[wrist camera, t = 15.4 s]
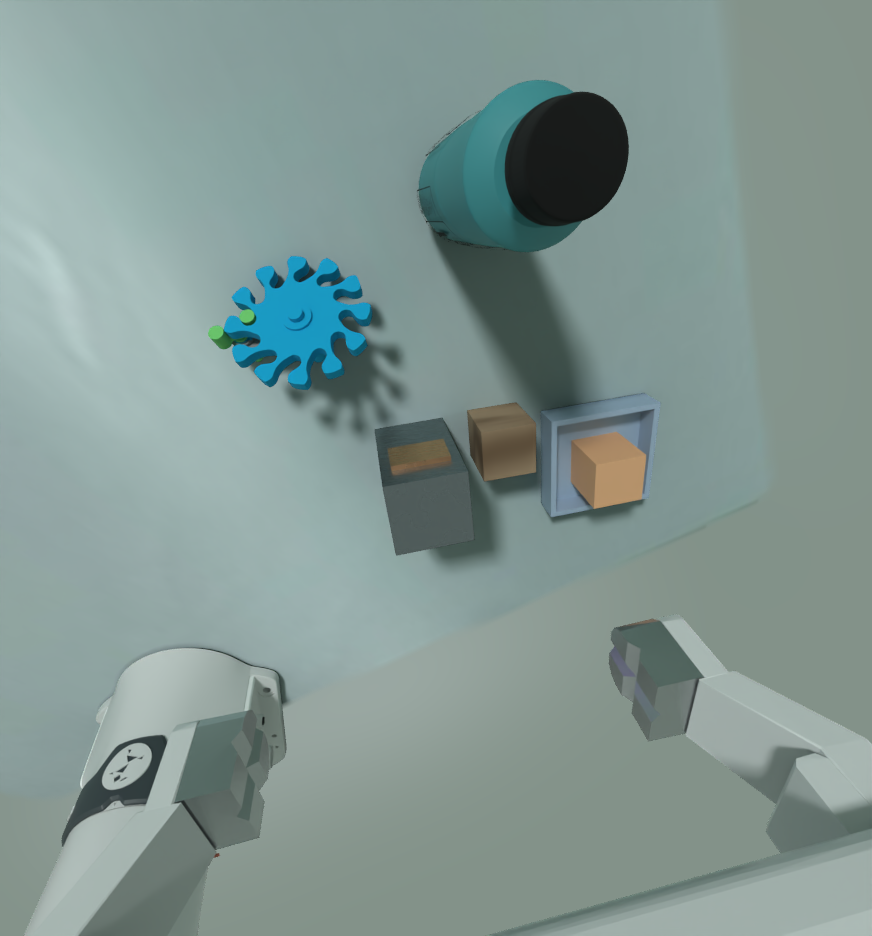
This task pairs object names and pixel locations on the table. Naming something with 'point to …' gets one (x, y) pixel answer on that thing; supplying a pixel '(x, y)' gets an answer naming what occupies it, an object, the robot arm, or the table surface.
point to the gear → (295, 323)
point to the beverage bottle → (525, 168)
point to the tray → (591, 419)
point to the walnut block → (502, 441)
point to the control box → (424, 486)
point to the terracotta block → (607, 469)
